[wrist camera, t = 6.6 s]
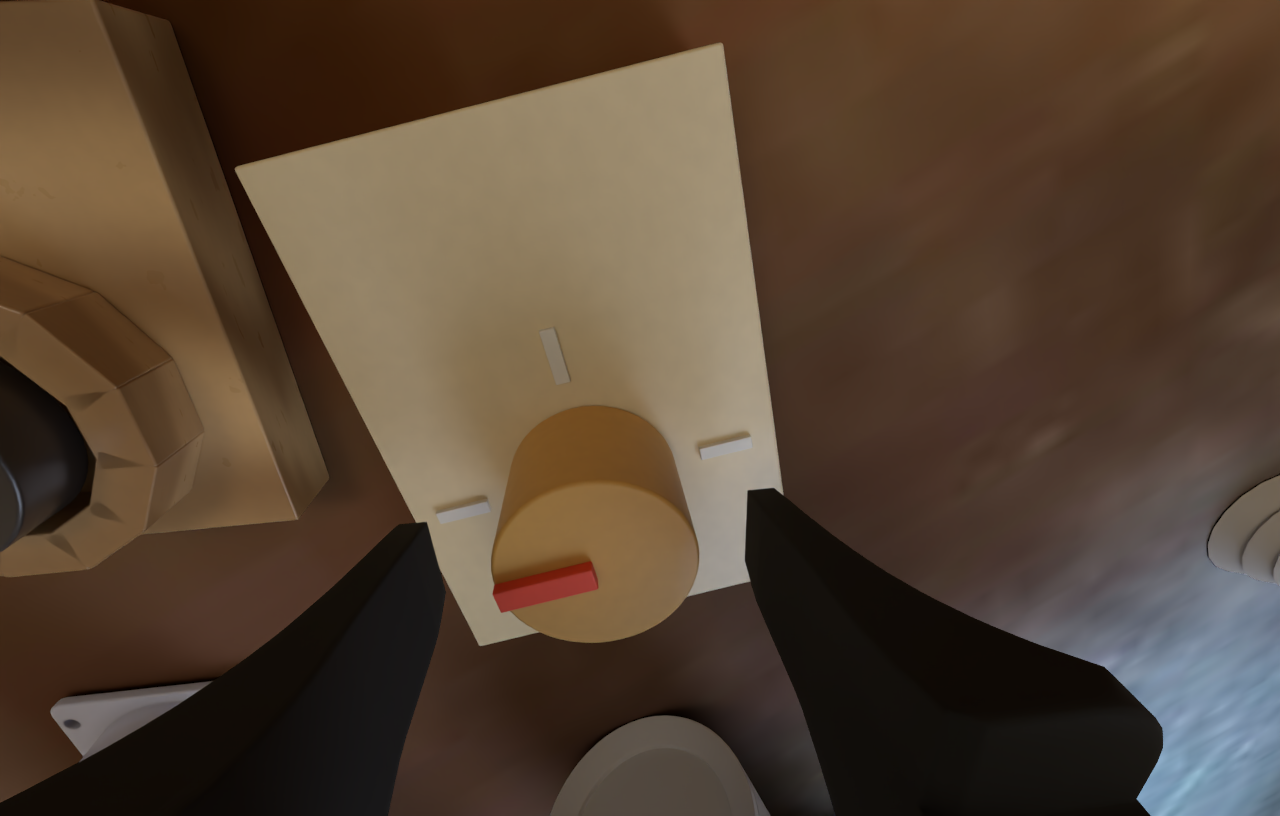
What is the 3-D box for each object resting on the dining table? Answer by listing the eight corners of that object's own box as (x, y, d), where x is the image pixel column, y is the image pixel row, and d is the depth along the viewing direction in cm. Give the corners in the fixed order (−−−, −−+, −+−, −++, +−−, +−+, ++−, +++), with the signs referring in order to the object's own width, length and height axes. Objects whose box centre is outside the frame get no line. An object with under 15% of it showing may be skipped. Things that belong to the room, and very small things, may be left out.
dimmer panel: (765, 512, 20) (796, 575, 17) (493, 578, 20) (478, 651, 17) (695, 60, 13) (725, 39, 11) (300, 162, 14) (227, 167, 11)
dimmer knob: (656, 385, 14) (681, 466, 10) (689, 523, 16) (718, 628, 12) (486, 428, 14) (454, 521, 10) (539, 559, 16) (527, 674, 12)
